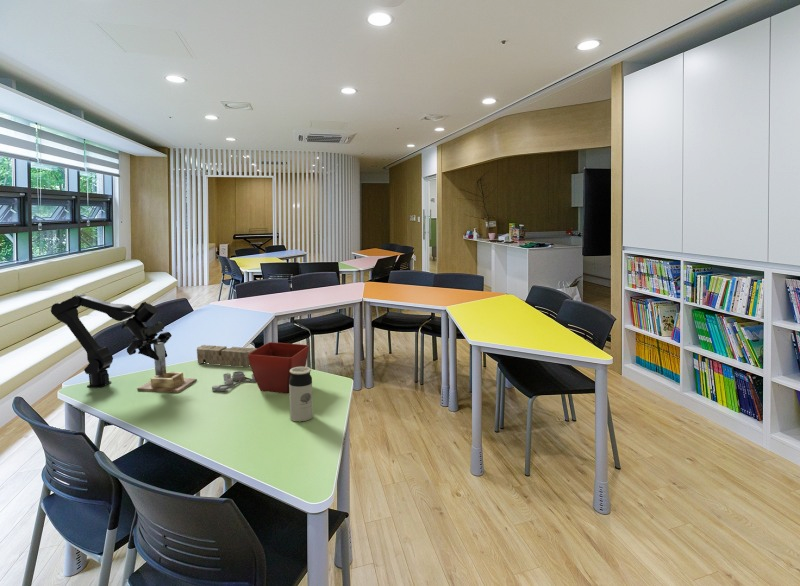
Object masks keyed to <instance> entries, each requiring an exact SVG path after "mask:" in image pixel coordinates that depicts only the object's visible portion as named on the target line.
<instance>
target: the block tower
mask: <svg viewBox="0 0 800 586" xmlns="http://www.w3.org/2000/svg"><path fill="white" fill-rule="evenodd" d="M256 349H258V348H256V347H240V346H238V347H237V346H232V347H229V348H228V346H223V345H221V346H220V345H210V344H209V345H208V344H207V345H206V344H202V345H200V346H198V347H196V356H197V357H196V358H197V364H198V363H204V362H206V363H209V364H220V365H219V366H221V365H231V366H230V367H235V366H243V367H242V368H248V367H250V366H249V365H250V362H249V357H248V354H249V353H251V352H252V351H254V350H256ZM206 363H204V364H206ZM209 364H208V365H209Z"/></svg>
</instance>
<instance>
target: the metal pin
mask: <svg viewBox="0 0 800 586" xmlns="http://www.w3.org/2000/svg"><path fill="white" fill-rule="evenodd" d="M152 345H153V346H152V347H153V351H154V352H155V353H156V354H157V356H158V358H159V360H155V359H153V360H154V373H155V375H154V376H156V375H157V376H161V375H165V374H166V372H167V364H166V357H165V349H166V346H165V344H164V343H163V342H158V343H154V344H152ZM164 346H165V347H164Z"/></svg>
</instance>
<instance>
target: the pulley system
mask: <svg viewBox="0 0 800 586" xmlns="http://www.w3.org/2000/svg"><path fill="white" fill-rule="evenodd" d="M231 375H232V376H231ZM222 376H223V381H224V382H225V384H219V385H213V386H211V390H212V391H214V392H217V391H220V392H223V391H228V390H229V389H231V388H233V387H236V386H237V385H240V384H241V383H257V382H256V380H255V378H254V375H253V374H252V375H251V378H250V377H248V376H246V374H245V371H242V370H239V371H234V372H232V374H231V373H228V372H227V373H223V375H222ZM234 382H235V383H234Z"/></svg>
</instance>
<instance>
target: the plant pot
mask: <svg viewBox="0 0 800 586" xmlns="http://www.w3.org/2000/svg"><path fill="white" fill-rule="evenodd" d="M309 348H310V345H308V344H301V343H300V344H298V343H284V342H273V341H270V342H267V343H265V344H263V345H261V346H260V347H258V348H257V349H256V350H254V351H252V352H251V353H249V354H248V357H249V362H250V366H249V367H250V369H251V372H252V375H254V378H255V380H256V382H255V383H256V385H257V387H258V389H259V391H260V392H267V393H277V394H285V395H287V394H290V392H289V378H290V376H291V373H290V369H292V368H295V367H307V366H306V365H307V361H308V357H309V356H308V354H309V350H310V349H309Z"/></svg>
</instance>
